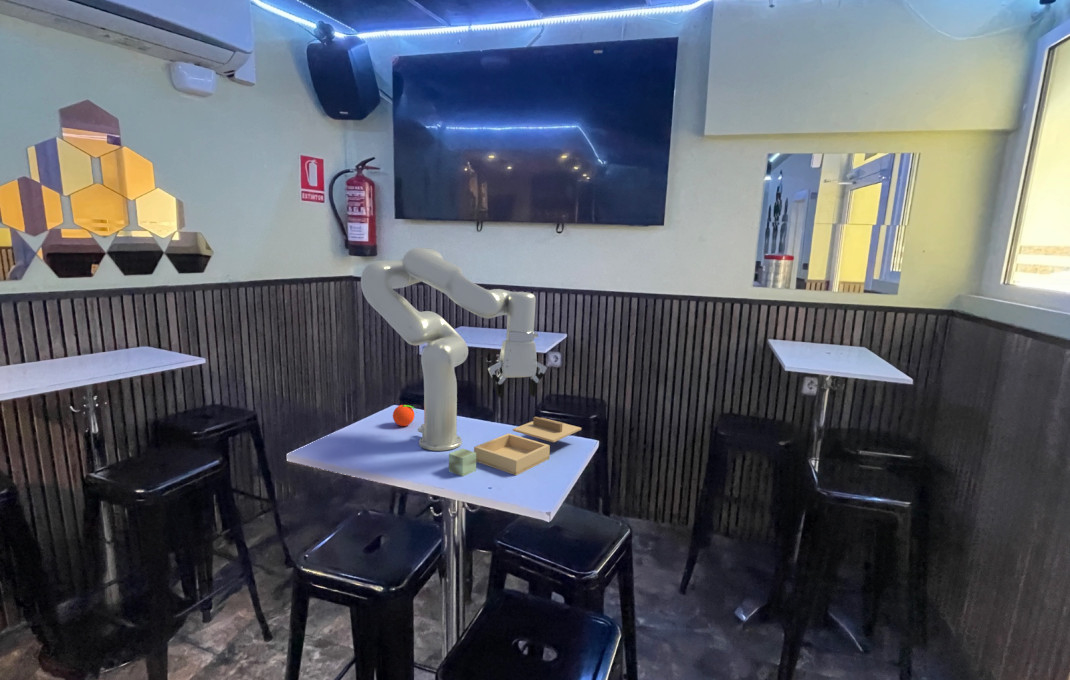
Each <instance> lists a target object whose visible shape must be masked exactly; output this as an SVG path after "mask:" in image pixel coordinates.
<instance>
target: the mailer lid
mask: <svg viewBox="0 0 1070 680" xmlns="http://www.w3.org/2000/svg"><path fill="white" fill-rule="evenodd" d="M532 420H533V421H530V422H527V423H525V424H522V425H520V426H517V427H514V428H512V431H513V432H516V433H520V434H522V435H525V436H529V437H533V438H536V439H539V440H540V439H541V440H544V441H546V442H550V443H555V442H558V441H560V440H562V439H564V438H567V437H569V436H571V435H573V434H575V433H578V432H579V431H582V427H580V426H576V425H572V424H568V423H565V422H562V421H557V420H553V419H548V418H545V417H539V416H534V417H533V418H532Z"/></svg>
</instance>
